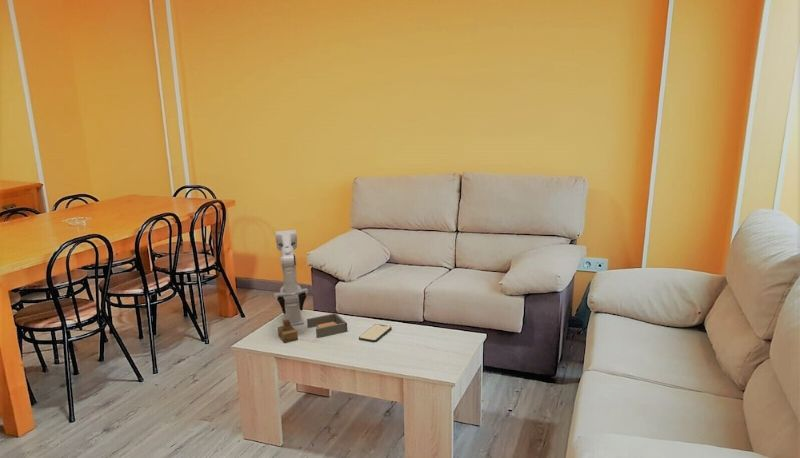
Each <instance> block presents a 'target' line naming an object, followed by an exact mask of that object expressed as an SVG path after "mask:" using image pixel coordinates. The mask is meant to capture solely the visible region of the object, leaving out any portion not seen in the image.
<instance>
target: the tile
mask: <svg viewBox="0 0 800 458" xmlns="http://www.w3.org/2000/svg"><path fill="white" fill-rule="evenodd" d="M335 324H336V322H329V323H324V324H319V325H317V326H316V328H321V327H326V326H331V325H335Z"/></svg>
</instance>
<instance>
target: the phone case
mask: <svg viewBox="0 0 800 458" xmlns="http://www.w3.org/2000/svg"><path fill="white" fill-rule="evenodd" d="M391 331H392V326H391V325H384V324H379V323H377V324H373V325H372V326H371V327H370V328H369V329H367V330H366V331H364V332H363V333H362V334H361V335H360V336H358V340H359V341H363V342H369V343H377V342H379V341H380V340H381V339H382V338H383V337H385V336H386V335H387V334H388V333H390V332H391Z"/></svg>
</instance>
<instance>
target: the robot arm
mask: <svg viewBox="0 0 800 458" xmlns="http://www.w3.org/2000/svg"><path fill="white" fill-rule="evenodd" d="M274 233H275V234H274V235H275V243H276V249H277V250H278V251H280V254H281V256H280V266H281V271H282V280H283V286H281V287H280V290H279V292H276V293H273V295H274V296H273V297H274V299H275V300H277V301H278V304H279V306H280V308H281V310H282V314H283V318H282V319H281V320H282V322H283V321H284V320H288V319H289V321H290V324H291V325H292V326H293V327H294V326H298V325H303V324H304V323H305V322H304V320H303V319H302V311H303V309H304V303H305V302H306V298H307V294H309V290H308V288H302V287H301V285H299V284H298V279H297V255H296V253H295V250H296V249H297V248H298V235H297V230H296V229H290V230H288V229H287V230H286V229H285V230H276V231H275V232H274Z"/></svg>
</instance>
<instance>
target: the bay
mask: <svg viewBox="0 0 800 458" xmlns="http://www.w3.org/2000/svg"><path fill="white" fill-rule="evenodd" d="M306 322H307V323H306V324H307V328H308V329H310V328H315V327H316V328H315V334H316V335H315V336H316V339H317V338H318V339H319V338H324V337H329V336H332V335H336V334H342V333H346V332H348V322H347V321H346V320H344V318H342V317H341V316H340V315H339V314H338V313H337V312H334V313H331V314H324V315H320V316H315V317H311V318H310V317H309V318H306ZM329 322H334V323H335V325H331V326H326V327H321V328H317V325H319V324H324V323H329Z"/></svg>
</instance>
